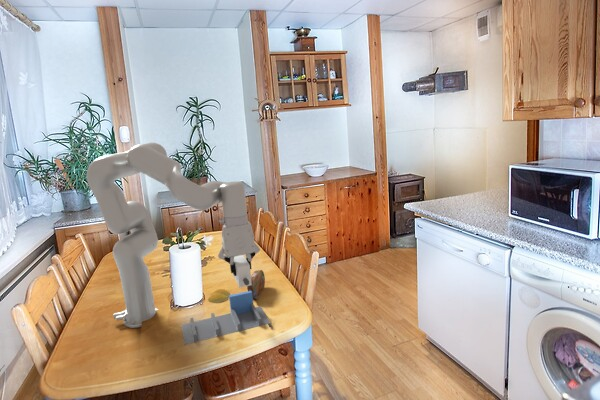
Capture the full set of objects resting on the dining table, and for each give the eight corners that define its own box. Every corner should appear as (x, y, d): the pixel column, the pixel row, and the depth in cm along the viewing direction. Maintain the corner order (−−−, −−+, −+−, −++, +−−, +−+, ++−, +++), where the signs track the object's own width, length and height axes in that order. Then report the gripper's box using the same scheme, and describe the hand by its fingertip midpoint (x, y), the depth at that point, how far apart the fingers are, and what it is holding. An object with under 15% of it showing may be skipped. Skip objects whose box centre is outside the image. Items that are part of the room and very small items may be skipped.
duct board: (185, 348, 123) (181, 324, 121) (182, 328, 135) (178, 305, 133) (270, 327, 132) (268, 304, 130) (261, 309, 144) (259, 288, 142)
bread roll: (205, 306, 149) (204, 297, 148) (214, 295, 158) (213, 286, 157) (226, 307, 148) (224, 297, 147) (233, 296, 156) (232, 286, 155)
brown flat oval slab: (255, 303, 149) (253, 282, 147) (247, 302, 150) (245, 282, 148) (266, 285, 164) (264, 266, 162) (258, 285, 164) (257, 266, 162)
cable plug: (241, 292, 122) (239, 271, 121) (233, 275, 135) (231, 256, 133) (254, 289, 124) (252, 269, 122) (244, 273, 136) (242, 254, 134)
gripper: (211, 227, 120) (218, 282, 124) (264, 218, 125) (268, 272, 130) (208, 221, 127) (214, 274, 131) (258, 213, 132) (262, 264, 136)
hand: (241, 272), depth 130 cm, fingers closed on cable plug, 4 cm apart
